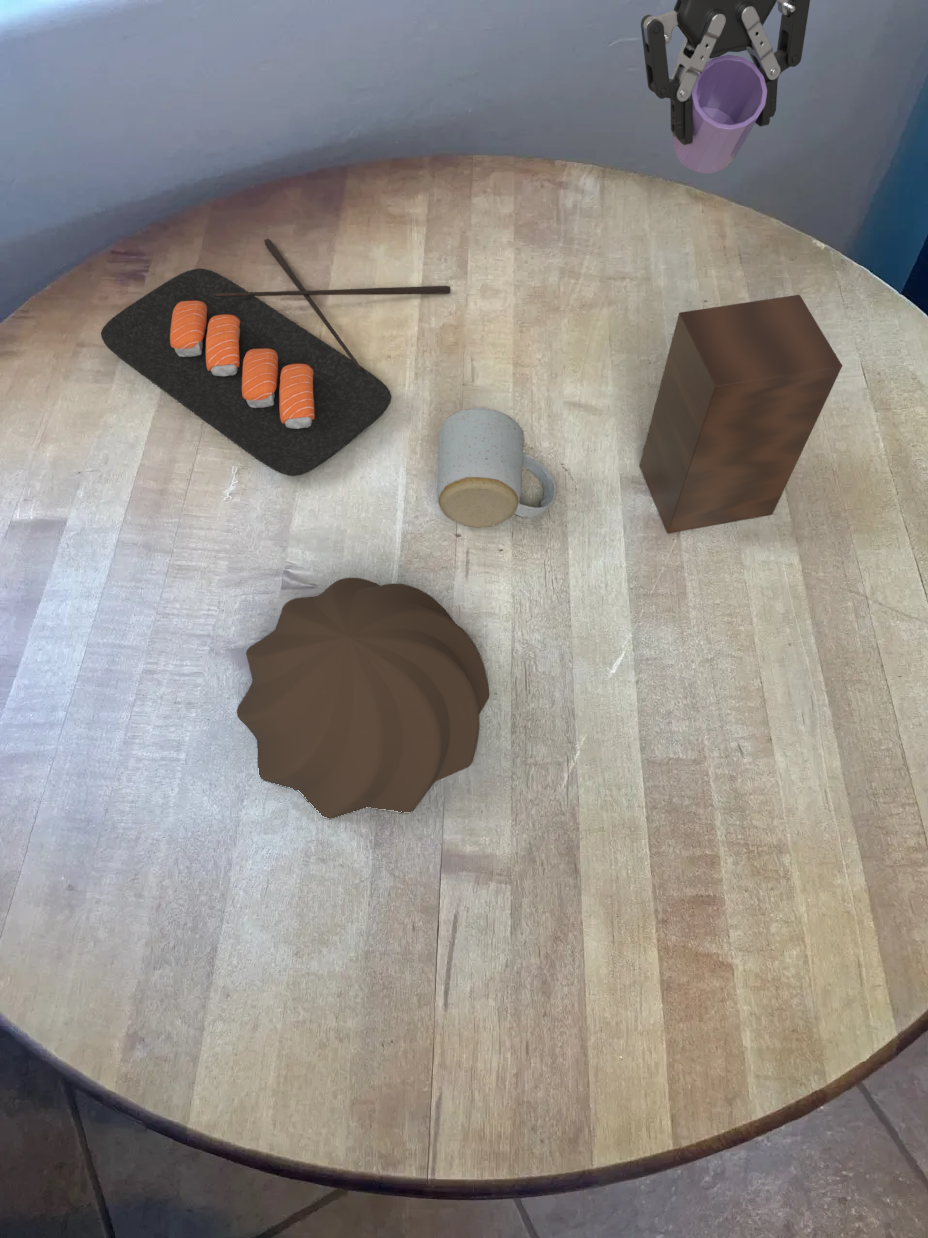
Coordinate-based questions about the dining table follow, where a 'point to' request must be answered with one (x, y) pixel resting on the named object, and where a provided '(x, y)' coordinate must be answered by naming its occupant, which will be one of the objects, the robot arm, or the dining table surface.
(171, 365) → the sushi plate
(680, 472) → the block
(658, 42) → the robot arm
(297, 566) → the dining table surface
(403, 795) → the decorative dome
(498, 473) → the ceramic mug
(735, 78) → the tumbler
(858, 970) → the dining table surface
